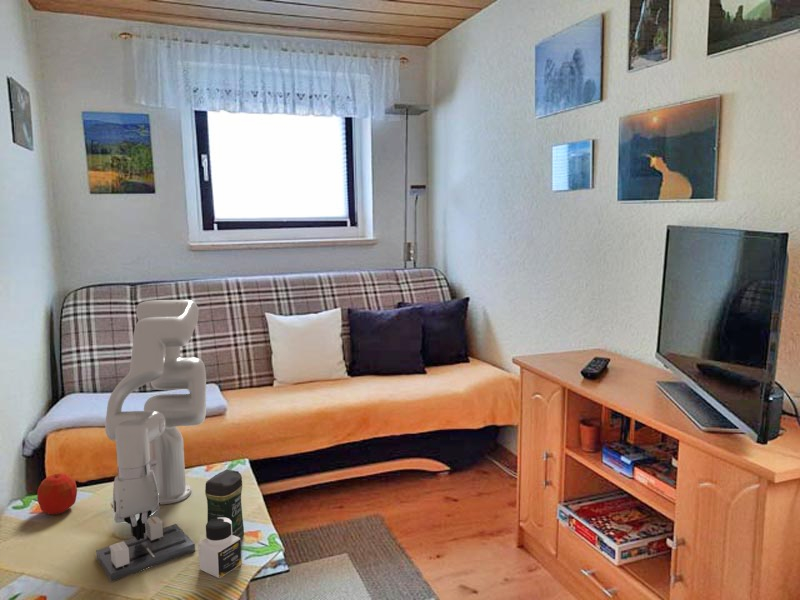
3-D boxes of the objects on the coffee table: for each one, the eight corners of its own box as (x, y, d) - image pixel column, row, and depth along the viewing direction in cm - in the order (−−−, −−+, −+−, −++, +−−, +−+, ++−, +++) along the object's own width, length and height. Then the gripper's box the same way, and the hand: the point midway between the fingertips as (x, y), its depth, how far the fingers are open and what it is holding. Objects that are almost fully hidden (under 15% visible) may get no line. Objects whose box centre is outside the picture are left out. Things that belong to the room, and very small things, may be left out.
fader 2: (146, 534, 156) (145, 519, 156) (157, 530, 158) (156, 515, 158) (151, 540, 153) (150, 525, 153) (163, 536, 155) (162, 521, 155)
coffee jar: (229, 554, 152) (225, 484, 149) (202, 548, 154) (198, 480, 151) (249, 534, 161) (247, 469, 158) (224, 530, 163) (221, 465, 160)
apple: (65, 520, 168) (62, 481, 167) (30, 519, 169) (26, 481, 167) (85, 502, 178) (82, 466, 177) (51, 502, 179) (48, 465, 177)
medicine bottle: (219, 579, 141) (217, 532, 139) (199, 570, 145) (196, 523, 143) (242, 564, 147) (240, 518, 145) (222, 555, 151) (220, 511, 149)
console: (96, 557, 150) (95, 549, 150) (176, 530, 163) (175, 523, 162) (111, 581, 140) (110, 573, 140) (195, 550, 153) (194, 543, 153)
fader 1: (111, 560, 144) (110, 544, 144) (124, 556, 146) (123, 540, 146) (116, 568, 141) (115, 552, 141) (129, 563, 143) (128, 547, 143)
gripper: (159, 457, 158) (163, 522, 161) (98, 473, 149) (103, 541, 151) (169, 466, 153) (173, 533, 155) (106, 483, 143) (111, 554, 146)
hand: (139, 537), depth 153 cm, fingers closed
